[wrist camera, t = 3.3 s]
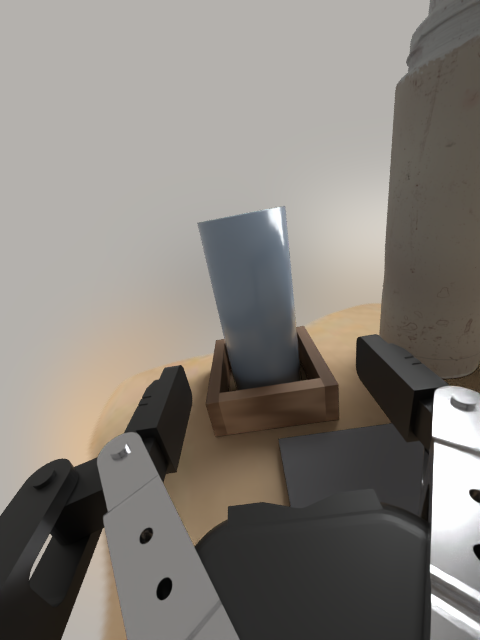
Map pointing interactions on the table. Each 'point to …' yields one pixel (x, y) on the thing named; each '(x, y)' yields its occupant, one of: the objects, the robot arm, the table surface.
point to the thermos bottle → (436, 196)
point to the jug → (254, 295)
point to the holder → (272, 395)
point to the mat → (353, 465)
